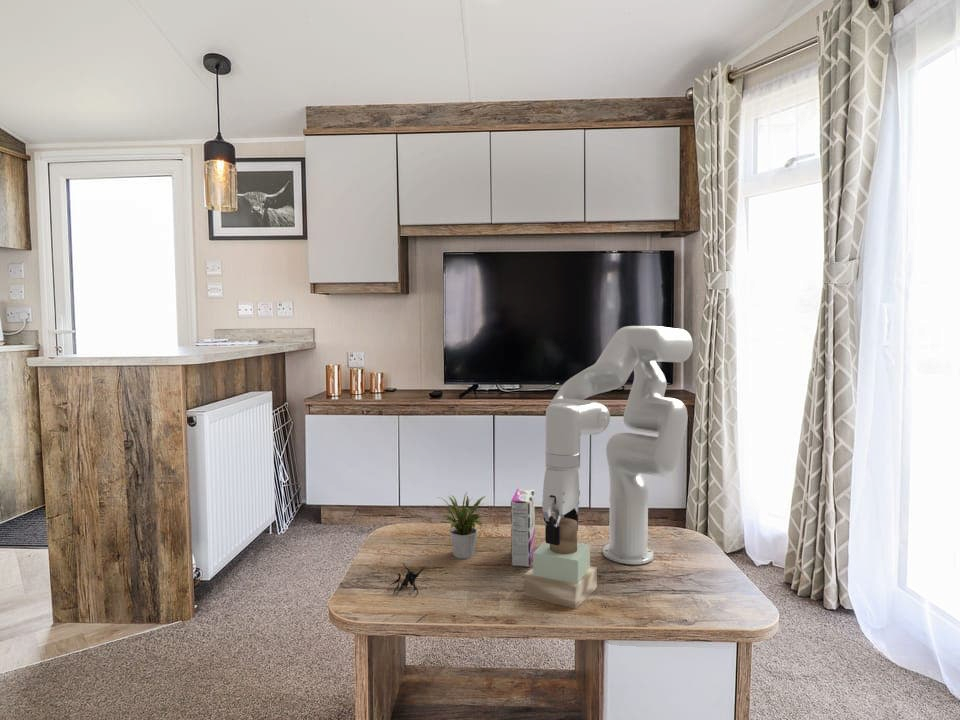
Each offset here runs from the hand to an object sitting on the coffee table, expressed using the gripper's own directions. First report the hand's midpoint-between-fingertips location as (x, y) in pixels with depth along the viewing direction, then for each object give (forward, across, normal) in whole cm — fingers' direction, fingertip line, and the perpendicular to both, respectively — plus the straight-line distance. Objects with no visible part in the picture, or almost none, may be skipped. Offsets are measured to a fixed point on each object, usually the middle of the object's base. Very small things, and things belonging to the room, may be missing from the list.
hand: (562, 536), depth 127 cm
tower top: (+8, 0, 0) cm, 8 cm away
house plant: (+12, -5, -31) cm, 34 cm away
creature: (+13, +18, -30) cm, 37 cm away
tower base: (+13, 0, 0) cm, 13 cm away
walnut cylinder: (+3, 0, 0) cm, 3 cm away
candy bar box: (+12, -12, -16) cm, 24 cm away
